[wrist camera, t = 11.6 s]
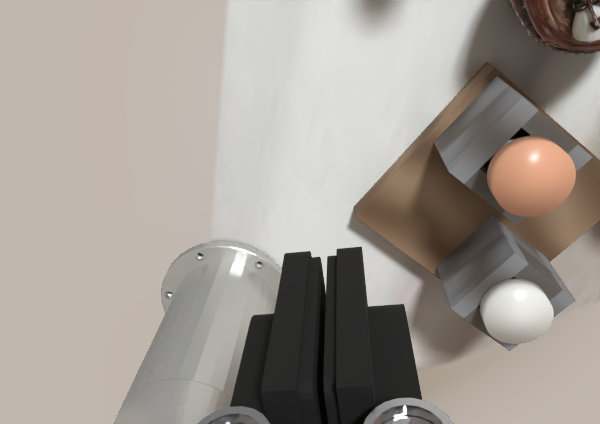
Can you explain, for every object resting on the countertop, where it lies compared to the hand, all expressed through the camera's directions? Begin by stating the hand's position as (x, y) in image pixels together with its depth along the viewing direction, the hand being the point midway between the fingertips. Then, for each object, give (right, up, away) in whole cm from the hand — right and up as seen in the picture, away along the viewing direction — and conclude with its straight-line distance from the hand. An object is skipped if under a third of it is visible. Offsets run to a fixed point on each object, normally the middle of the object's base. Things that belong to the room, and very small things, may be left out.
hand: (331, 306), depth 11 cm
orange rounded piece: (+14, +7, +25) cm, 29 cm away
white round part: (+16, -3, +31) cm, 35 cm away
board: (+15, +4, +32) cm, 35 cm away
